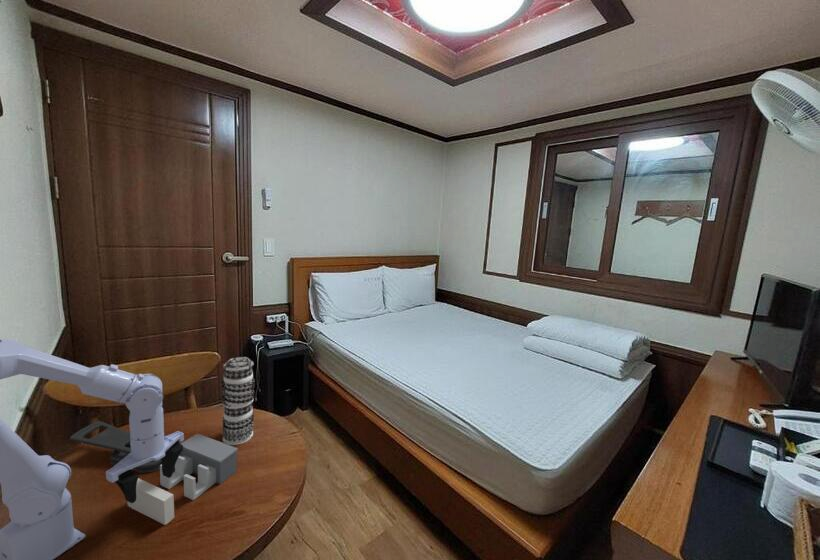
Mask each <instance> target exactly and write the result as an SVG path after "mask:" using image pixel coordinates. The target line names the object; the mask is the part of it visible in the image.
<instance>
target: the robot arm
mask: <svg viewBox="0 0 820 560" xmlns="http://www.w3.org/2000/svg"><path fill="white" fill-rule="evenodd" d="M18 375H25V376H30V377H33V378H34V377H35V378H41V379H45V380H49V381H55V382H60V383H65V384H71V385H74V386H78V388H79V389H80V392H81V393H82V395H87V396H90V397H94V398H98V399H102V400H107V401H112V402H115V403H121V404H125V406H126V408H127V409H128V410H129V416H128V422H129V432H130V444H131V453H130V454H128V455H127V456H126V457H125V458H124V459H122V460H121V461H120V462H119V463H117V464H116V465H113V467H111V468H110V469H107V470H106V471H105V477H106V478H105V479H106V481H108V482H110V483H112V484H113V483H115V485H117V487H119V489H120V491H121V492H122V495H124V499H125V501H128V502H130V503H134V502H135V501H136V485H137V480H138V478H140V476H139V475H137V474H135V473H134V471H133V470H131V469H133V468H135V467H138V466H140V465H142V464H145V463H147V462H150V461H152V460H154V461H158V460H160V459H161V461H162V473H163V476H166V477H168V478H170V477H172V474H173V473H174V471H175V464H176V461H177V459H178V457H179V456H180V454H181V452H182V451H183V445H181V443H183V442H184V441H185V436H184V435H185V434H184V433H183V432H182V431H179V430H177V431H175V432H173V433H171V434H170V433H169V434H168V435H165V427H164V425H165V423H164V422H165V421H164V418H165V417H164V408H163V400H164V395H163V382H162V380H161V379H160V377H158V376H157V375H154V374H153V373H144V374H143V373H138V374H135V373H133V372H129V371H125V370H121V369H119V366H118V365H116V364H112V363H111V364H110V365H105V364H100V365H96V366H93V367H87V366H85V365H82V364H79V363H78V362H77V363H76V362H73V361H70V360H68V359H64V358H61V357H58V356H55V355H52V354H49V353H45V352H44V351H40V350H39V349H38V350H37V349H34V348H32V347H29V346H26V345H25V344H22V343H20V342H19V341H16V340H14V339H9V338H4V339H2V338H1V337H0V380H5V379H7V378H11V377H15V376H18ZM71 475H72V469H71V467H70V465H69V464H67V463H66V462H61V461H58V460H56V459H54V458H52V456H50V455H49V454H48V455H47V454H46V455H45V454H44V455H39V454H38V453H36V452H35V451H34V450H33V449H32V447H30V446H29V444H27V443H26V442H25V441H24V440H23V439H22V438H21V437H20V436H19V435H18V433H16V432H15V431H14V430H13V429H12V428H11V427H10V426H9V425H8V424H7V423H6V422H5V421H4V420H3V419H2V418H1V417H0V486H1V499H2V503H3V504H4V505H5V506H6V508H8V513H9V515H8V516H9V519H10V521H9V523H7V524H6V525H4V526H2V528H0V560H55V559H56V558H58V557H59V556H61V555H63V553H64V552H65V553H66V551H69V549H71V548H72V547H74V546H75V545H76V544H78V543H80V541H82V540H83V539H85V538H86V534H85V533H83V532H81V531H80V530H79V529H76V528H75V527H74V516H73V515H74V514H73V505H72V504H73V503H72V494H71V492H70V491H69V490H68V488H67V484H68V481H69V479H70V478H71Z"/></svg>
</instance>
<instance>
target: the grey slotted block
mask: <svg viewBox="0 0 820 560" xmlns="http://www.w3.org/2000/svg"><path fill="white" fill-rule="evenodd" d="M180 444H181V445H183V451H182V452H181V454H180V455H179V457H178V459H177V461H176V464H175V467H174V471H173V474H172V477H170V478H168V477H166V476H163V473H162V464H161V465H160V469H159V474H160V475H159V477H160V478H159V479H160V481H159V482H160V486H161V487H163V488H166V489H168V490H170V489H172V488H173V487H174V486H176V485H177V484H178V483H180V482H182V481H183V492H184V493H183V497H186V498H188V499H190V500H192V501H195V500H196V499H197V498H198V497H200V496H201V495H202V494H203V493H205V492H206V491H207V490H208V489H209V488H211V487H212V486H213V485H214V484H220V485H221V484H222V483H224V482H225V481H227V480H228V479H229V478H230V477H231V476H232V475H233V474H235V473H236V472H237V468H238V467H237V465H238V464H237V463H238V461H237V460H238V459H237V456H238V454H237V453H238V451H239V448H237V447H235V446H234V445H228V444H225V443H224V442H223V441H222V442H221V441H219V440H217V439H213V438H210V437H208V436H206V435H203V434H201V433H196V434H194V435H193V436H191V437H189V438H188V439H185V440H183V441H182V442H180ZM191 474H196V475H197V482H196V477H194V476H192V475H191Z"/></svg>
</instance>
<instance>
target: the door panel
mask: <svg viewBox="0 0 820 560" xmlns="http://www.w3.org/2000/svg"><path fill="white" fill-rule="evenodd" d="M174 498H175V497H174V493H171V492H169V491H167V490H165V489H162V488H161V487H158V486H156V485H154V484H152V483H149V482H147V481H145V480H143V479H141V478H140V477H138V480H137V485H136V501H135V502H134V503H130V502H128V501H127V507H128V506H129V507H128V508H130V507H131V509H132V510H135V511H137V512H138V513H140V514H142V515H144V516H146V517H149V518H151V519H153V520H154V521H156V522H158V523H160V524H162V525H163V526H166V525H167V524H168V523H169V522H171V521H172V520H173V519H175V504H174V503H175V501H174V500H175V499H174Z"/></svg>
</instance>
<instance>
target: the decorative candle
mask: <svg viewBox="0 0 820 560" xmlns="http://www.w3.org/2000/svg"><path fill="white" fill-rule="evenodd" d="M254 363H255V362H254V361H253V360H252V359H250V358H249V357H247V356H235V357H232V358H230V359H229V360H227V361H226V362H225V364H224V363H223V365H222V368H223V369H224V371H223V372H224V373H223V378H221V379H220V380H221V381H220V384H221V385H220V387H221V399H222V400H221V401H222V402H221V405H222V406H223V408H224V410H223V416H222V420H221V422H222V431H221V432H222V435H221V436H222V443H224V444H227V445H230V446H236V445H242V444H245V443H247V442H248V441H249V440H251V439H252V438H253V436H254V426H255V424H254V420H255V419H254V417H255V415H254V414H255V413H254V411H253V410H254V409H253V402H254V399H255V390H254V388H255V387H256V379H255V378H254V371H253V366H254V365H255V364H254ZM251 437H252V438H251Z"/></svg>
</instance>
